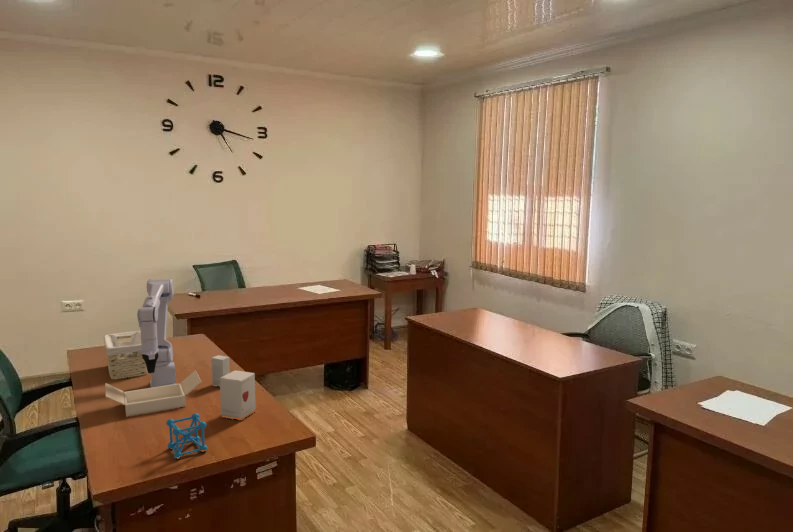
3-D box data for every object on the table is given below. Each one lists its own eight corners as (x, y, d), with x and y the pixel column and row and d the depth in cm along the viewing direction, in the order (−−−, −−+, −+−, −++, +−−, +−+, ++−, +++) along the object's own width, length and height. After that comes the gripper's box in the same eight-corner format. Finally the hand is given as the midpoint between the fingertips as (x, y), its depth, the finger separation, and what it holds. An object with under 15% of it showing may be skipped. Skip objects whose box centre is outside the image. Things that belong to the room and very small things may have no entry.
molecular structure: (208, 452, 174) (207, 422, 172) (175, 461, 168) (173, 430, 166) (199, 440, 182) (197, 411, 180) (167, 448, 176) (165, 418, 174)
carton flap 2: (180, 382, 220) (181, 383, 220) (185, 394, 207) (186, 395, 208) (195, 370, 222) (196, 370, 222) (201, 381, 209) (201, 382, 209)
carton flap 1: (105, 382, 207) (105, 383, 207) (106, 395, 195) (105, 396, 195) (123, 391, 210) (122, 392, 210) (124, 404, 198) (124, 405, 198)
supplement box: (241, 421, 196) (240, 380, 193) (220, 418, 199) (218, 377, 197) (256, 412, 204) (255, 372, 202) (236, 408, 207) (234, 369, 205)
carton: (181, 394, 220) (180, 383, 220) (185, 407, 208) (185, 395, 207) (124, 403, 211) (123, 391, 210) (126, 417, 199) (125, 405, 198)
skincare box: (230, 384, 231) (229, 356, 229) (223, 388, 227) (222, 359, 225) (219, 382, 234) (218, 354, 232) (212, 385, 230) (210, 357, 228)
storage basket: (149, 375, 241) (147, 342, 239) (107, 382, 233) (105, 348, 231) (144, 360, 262) (142, 329, 260) (105, 365, 254) (103, 334, 252)
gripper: (136, 334, 217) (138, 368, 219) (139, 344, 204) (141, 379, 206) (155, 332, 220) (157, 366, 222) (159, 341, 208) (161, 376, 210)
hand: (151, 372), depth 214 cm, fingers closed
